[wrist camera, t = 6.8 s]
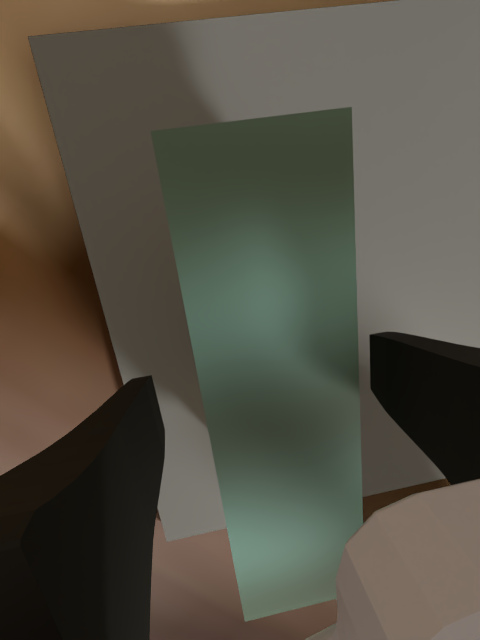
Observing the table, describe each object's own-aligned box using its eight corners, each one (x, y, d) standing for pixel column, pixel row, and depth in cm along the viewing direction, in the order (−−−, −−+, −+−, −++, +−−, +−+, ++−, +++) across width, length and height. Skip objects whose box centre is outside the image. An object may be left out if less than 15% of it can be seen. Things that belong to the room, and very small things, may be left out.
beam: (321, 496, 15) (364, 591, 11) (230, 516, 15) (245, 621, 11) (294, 142, 11) (351, 106, 7) (164, 158, 10) (150, 130, 7)
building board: (561, 438, 23) (656, 497, 18) (167, 526, 21) (161, 619, 16) (646, -13, 16) (847, -109, 11) (39, 48, 13) (-44, -40, 8)
